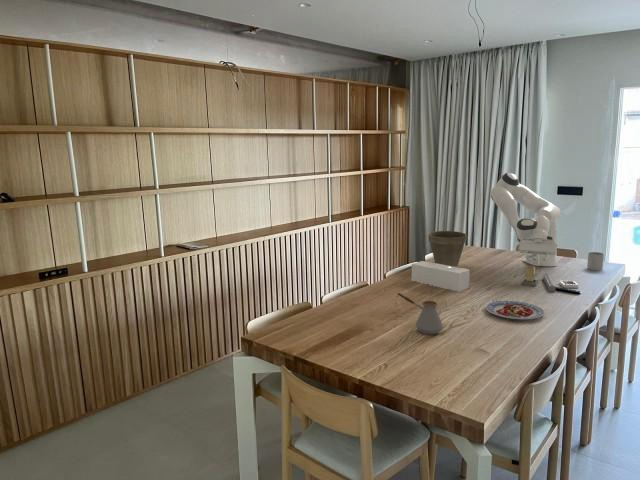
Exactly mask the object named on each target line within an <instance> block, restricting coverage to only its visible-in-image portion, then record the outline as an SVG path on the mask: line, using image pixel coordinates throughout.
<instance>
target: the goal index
mask: <svg viewBox="0 0 640 480" xmlns="http://www.w3.org/2000/svg"><path fill="white" fill-rule="evenodd" d="M520 284H521V286H530V287H537V285H538V284H539V279H536V278H535V279H534V282H526V277H524V278H523V279H522V280H521V283H520Z"/></svg>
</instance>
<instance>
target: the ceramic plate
mask: <svg viewBox="0 0 640 480" xmlns="http://www.w3.org/2000/svg"><path fill="white" fill-rule="evenodd" d="M485 309H486V310H487V311H488V312H489V313H490V314H493V315H495V316H497V317H501V318H507V319H512V320H533V319H534V320H535V319H539V318H542V317H543V316H544V315H545V310H544V309H543V308H541V307H539V306H538V305H535V304H532V303H528V302H523V301H517V300H495V301H492V302H489V303H487V304H486V305H485Z"/></svg>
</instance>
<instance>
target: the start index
mask: <svg viewBox="0 0 640 480" xmlns="http://www.w3.org/2000/svg"><path fill="white" fill-rule="evenodd" d="M559 285H560V286H561V287H562V288H563V287H564V288H563V289H579V284H578V283H577V282H576V281H575V280H559Z"/></svg>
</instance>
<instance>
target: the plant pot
mask: <svg viewBox="0 0 640 480" xmlns="http://www.w3.org/2000/svg"><path fill="white" fill-rule="evenodd" d="M467 236H468V235H467V233H465V232H461V231H456V230H436V231H432V232H429V233H428V242H429V243H430V247H431V252H432V257H433V260H434V261H433V262H434V263H436V264H442V265H447V266H453V267H459V263H460V260H461V257H462V253H463V250H464V247H465V244H466V243H467V238H468V237H467Z"/></svg>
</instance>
